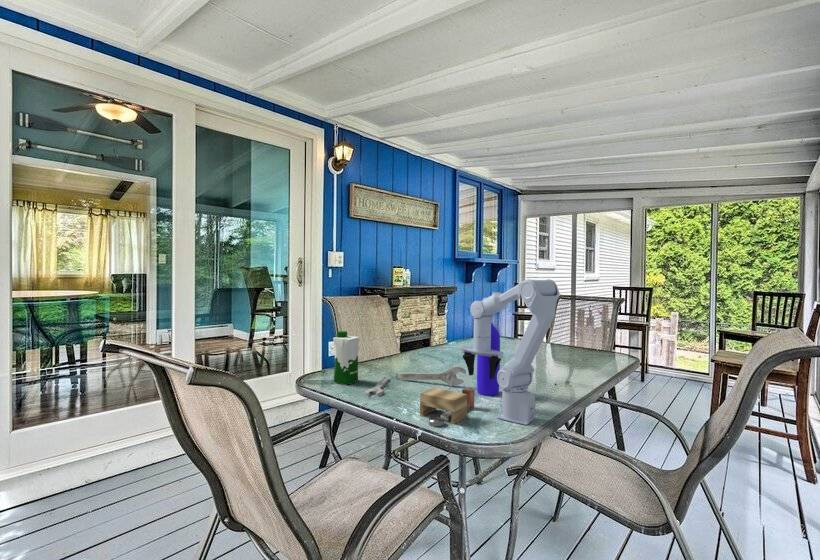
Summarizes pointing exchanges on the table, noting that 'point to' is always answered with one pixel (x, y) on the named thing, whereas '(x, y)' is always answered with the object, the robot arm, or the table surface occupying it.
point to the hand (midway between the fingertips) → (481, 376)
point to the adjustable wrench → (377, 388)
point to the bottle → (488, 368)
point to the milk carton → (346, 358)
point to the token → (436, 422)
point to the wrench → (436, 376)
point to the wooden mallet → (470, 403)
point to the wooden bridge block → (444, 403)
